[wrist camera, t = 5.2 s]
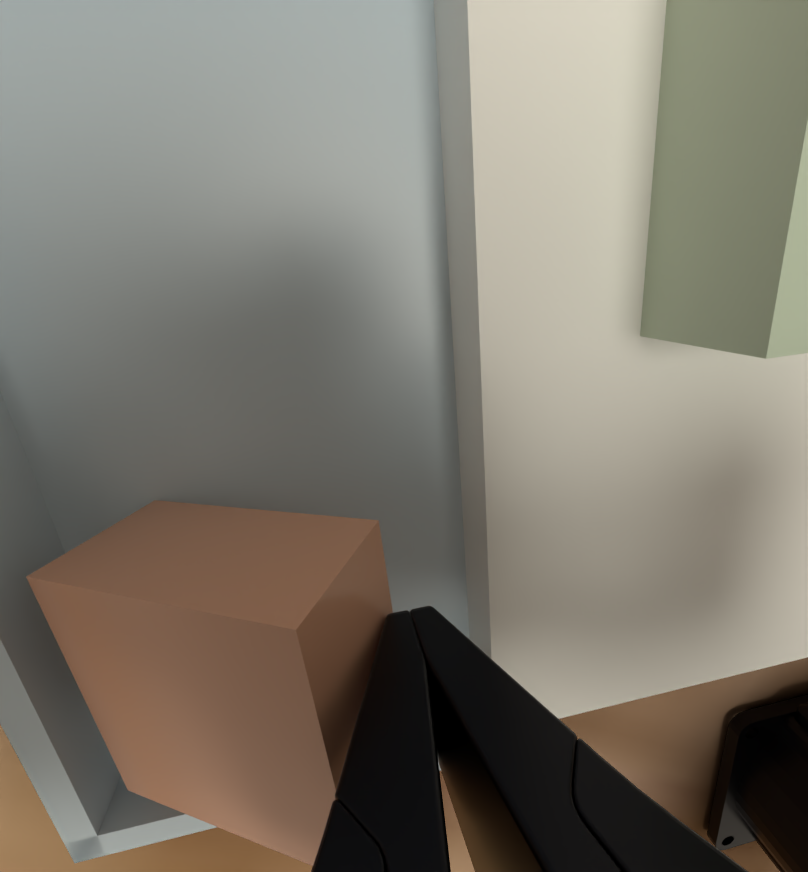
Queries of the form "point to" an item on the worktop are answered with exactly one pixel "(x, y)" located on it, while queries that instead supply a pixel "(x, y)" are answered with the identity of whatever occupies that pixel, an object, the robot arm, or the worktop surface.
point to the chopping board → (600, 381)
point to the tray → (213, 314)
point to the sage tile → (731, 180)
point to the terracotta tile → (225, 657)
